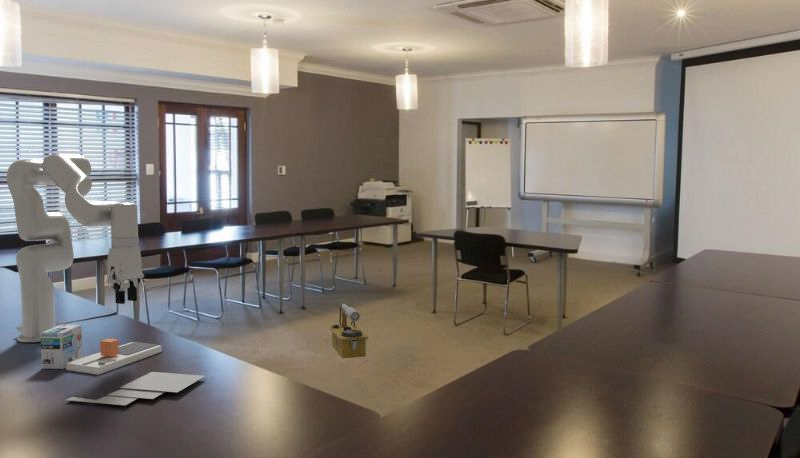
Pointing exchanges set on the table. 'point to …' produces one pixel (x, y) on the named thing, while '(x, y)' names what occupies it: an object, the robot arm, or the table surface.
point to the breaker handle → (109, 347)
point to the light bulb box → (61, 346)
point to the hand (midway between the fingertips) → (126, 301)
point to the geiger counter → (349, 335)
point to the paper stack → (145, 388)
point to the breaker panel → (114, 358)
